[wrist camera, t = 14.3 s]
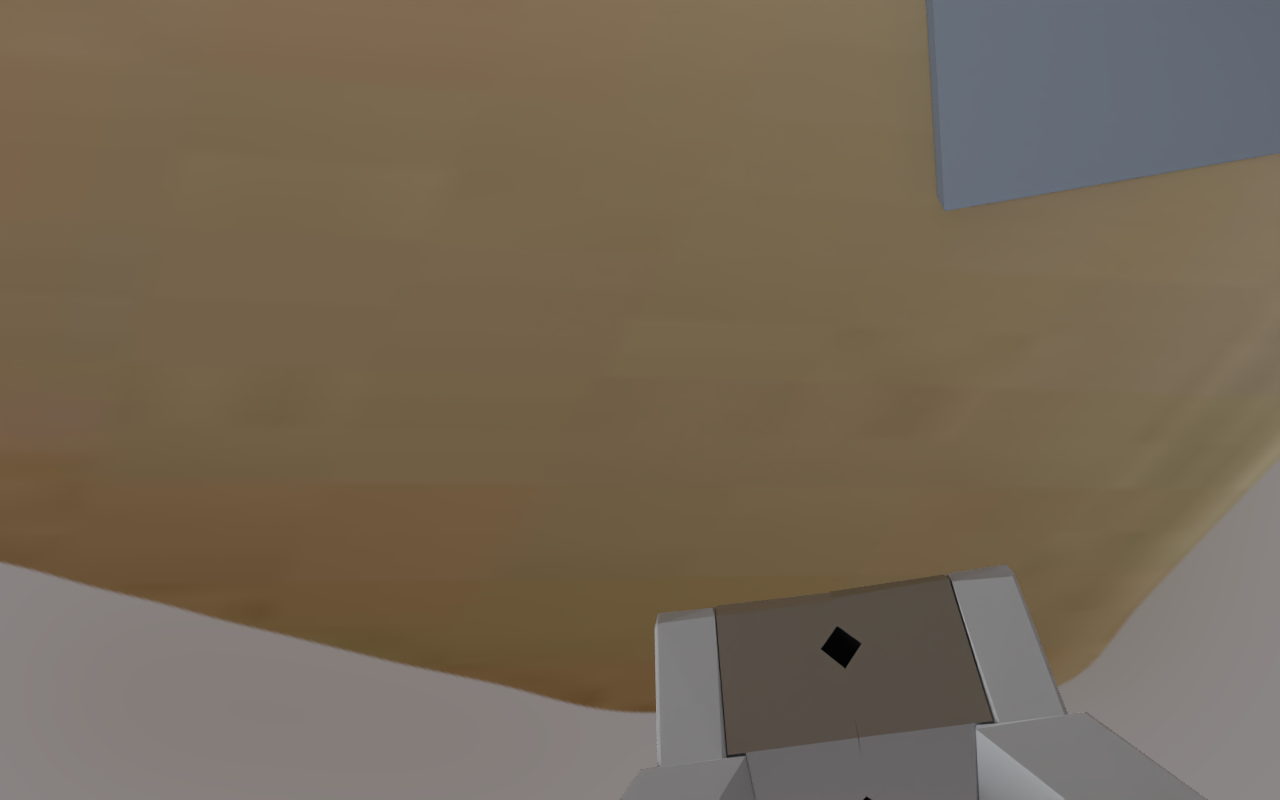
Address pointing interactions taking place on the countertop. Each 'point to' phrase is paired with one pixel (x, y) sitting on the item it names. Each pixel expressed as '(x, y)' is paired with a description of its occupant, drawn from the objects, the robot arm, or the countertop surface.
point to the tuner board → (1096, 91)
